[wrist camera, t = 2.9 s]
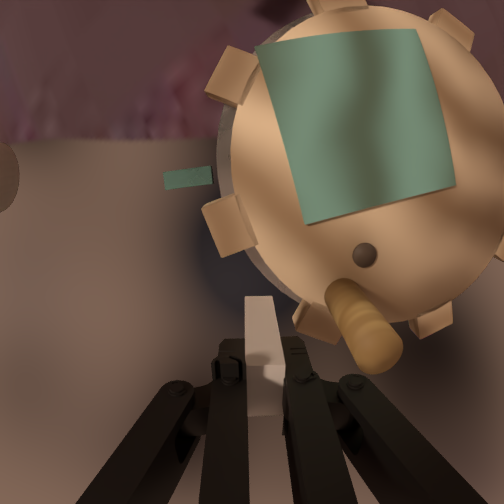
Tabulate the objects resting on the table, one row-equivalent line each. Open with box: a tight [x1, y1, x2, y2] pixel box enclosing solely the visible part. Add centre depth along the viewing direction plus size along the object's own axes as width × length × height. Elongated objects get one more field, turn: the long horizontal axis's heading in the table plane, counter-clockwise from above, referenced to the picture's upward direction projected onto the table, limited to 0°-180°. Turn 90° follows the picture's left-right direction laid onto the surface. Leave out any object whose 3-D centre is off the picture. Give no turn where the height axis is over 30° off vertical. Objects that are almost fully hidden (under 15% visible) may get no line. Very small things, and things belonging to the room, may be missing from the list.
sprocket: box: [201, 0, 504, 374], centre depth 16 cm, size 26×26×9 cm
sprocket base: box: [163, 13, 314, 303], centre depth 21 cm, size 24×26×1 cm
